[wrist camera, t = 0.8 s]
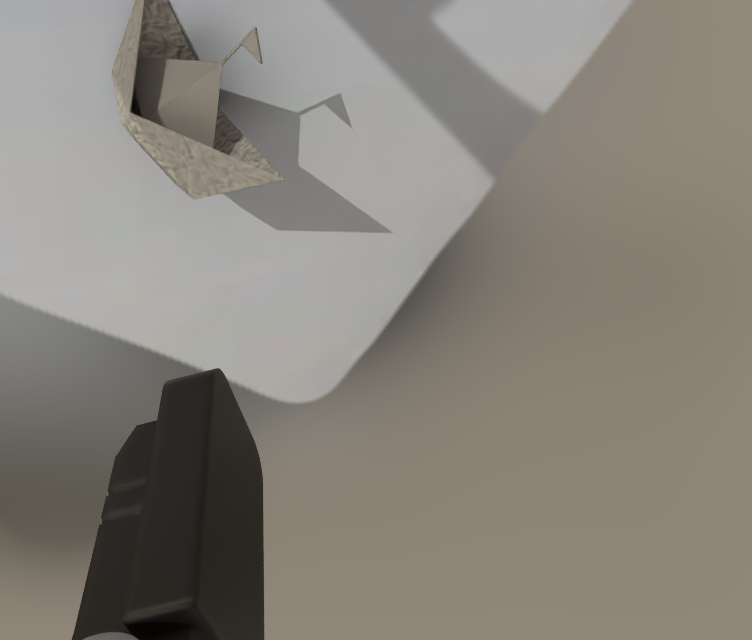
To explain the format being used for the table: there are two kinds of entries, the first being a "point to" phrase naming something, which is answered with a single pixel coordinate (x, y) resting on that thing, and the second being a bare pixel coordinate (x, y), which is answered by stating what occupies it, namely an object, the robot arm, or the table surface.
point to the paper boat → (182, 107)
